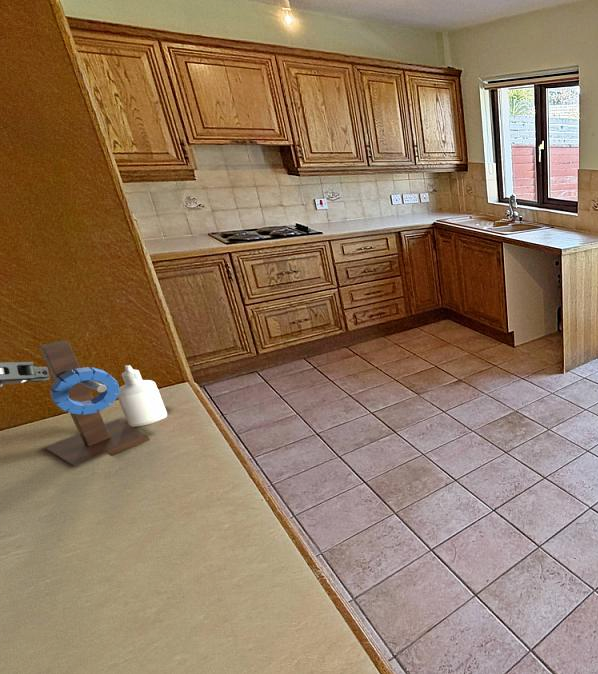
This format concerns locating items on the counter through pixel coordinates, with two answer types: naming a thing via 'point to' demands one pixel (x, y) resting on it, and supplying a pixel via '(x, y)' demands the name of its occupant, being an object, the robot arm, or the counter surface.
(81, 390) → the hook stand
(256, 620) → the counter surface
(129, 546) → the counter surface
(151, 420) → the eye dropper bottle
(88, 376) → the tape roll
